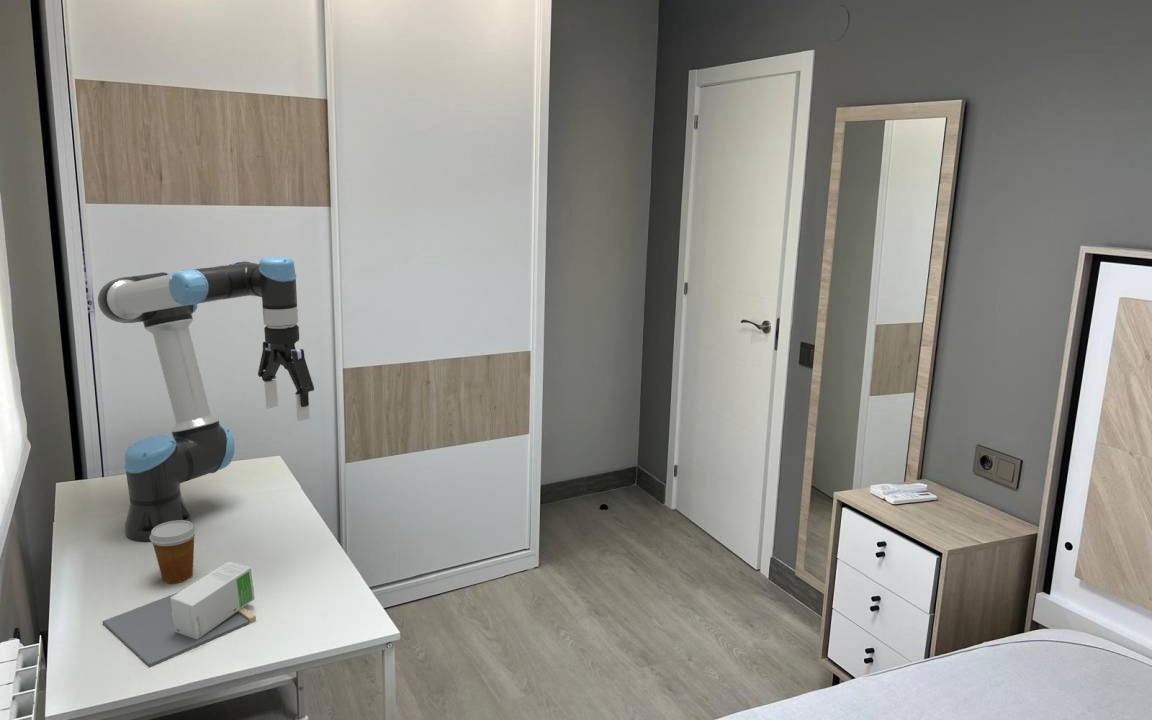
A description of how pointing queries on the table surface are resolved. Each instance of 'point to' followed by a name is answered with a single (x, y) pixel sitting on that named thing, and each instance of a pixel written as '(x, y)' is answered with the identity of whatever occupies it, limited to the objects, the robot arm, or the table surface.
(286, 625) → the table surface
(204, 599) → the skincare box
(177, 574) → the disposable coffee cup
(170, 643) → the rubber mat
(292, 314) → the robot arm
